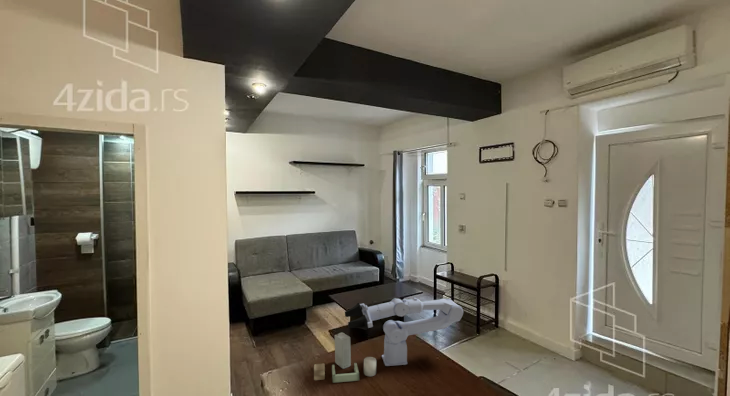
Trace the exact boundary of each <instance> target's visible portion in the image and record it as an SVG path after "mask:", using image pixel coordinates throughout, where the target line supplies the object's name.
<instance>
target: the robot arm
mask: <svg viewBox="0 0 730 396" xmlns="http://www.w3.org/2000/svg"><path fill="white" fill-rule="evenodd" d="M437 310H438V314H437V316H432V317H427V318H421V319H416V320H411V321H410V320H409V321H405V322H404V321H400V320H393V319H389V320H387V321H385V322H384V324H383V325H382V329H383V332H384V334H385V335H384V338H383V339H384V341H383V342H384V343H383V347H384V348H383V354H382V355H381V358H382V360H383V364H384V366H385V367H390V366H402V365H403V366H406V365H408V346H407V341H406V340H407V338H408V337H409V336H412V335H413V336H414V335H418V334H419V335H420V334H424V333H428V332H434V331H438V330H439V331H440V330H444V329H447V328H449V327H450V326H451V325H452V324H454V323H457V322H460V321H461V319H462V317H463V315H464V309H463V307H462V306H461V305H459V304H457V303H456V302H454V301H453V300H452V299H451V298H440V299H433V300H432V299H431V300H425V301H424V300H423V301H421V300H420V299H419V298H417V297H413V299H412V298H411V299H406V298H403V299H401V298H396V297H394V298H393V299H391V300H390V301H388V302H384V303H379V304H375V305H370V306H368V305H367V304H365V303H360V302H357V303H356V304H355V305H354V306H353V307H351V308H349V309H348V310H345V311H344V315H345V318H349V317H358V318H356V319H354V320H351V321H348V322H347V325H348V328H349V329H362V330H365V331H366V330H367V329H369V328H373V327H374V325H373V321H377V320H380V319H381V320H382V319H385V318H389V317H392V316H398V317H401V318H402V317H405V315H407V314H420V313H422V311H437Z"/></svg>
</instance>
